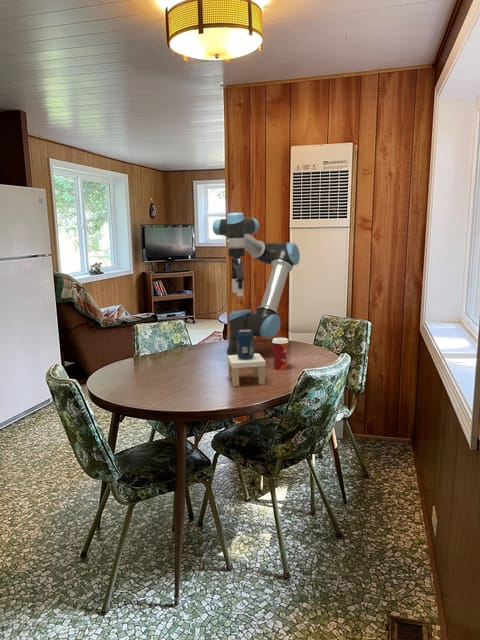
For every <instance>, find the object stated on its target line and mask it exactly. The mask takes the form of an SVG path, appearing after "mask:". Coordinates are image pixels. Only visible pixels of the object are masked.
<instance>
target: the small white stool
mask: <svg viewBox="0 0 480 640" xmlns="http://www.w3.org/2000/svg"><path fill="white" fill-rule="evenodd" d="M226 358H227V359H226V360H227V365H228V370H227V371H228V379H229V380H232V387H233V388H236V387H235V386H238V387H240V376H239V375H240V373H239V372H240V368H242V369H243V368H252V371H253V372H252V376H253V377H254V378H257V383H258V385H260V386H261V385H266V359H264V358H263V357H262V355H261V354H260V353H259V352H258V353H257V352H256V353H254V356H253V358H252V359H249V360H242V359H239V357H238V355H227V354H226Z"/></svg>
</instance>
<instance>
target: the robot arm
mask: <svg viewBox="0 0 480 640" xmlns="http://www.w3.org/2000/svg"><path fill="white" fill-rule="evenodd" d="M259 229H260V223H259V221H258V219H256V218H254V217H245V215H244V213H243V212H230V213H228V214H227V215H226V218H221V219H219V218H218V219H216V220H214V221H213V223H212V231H213V233H214V235H216V236H224V237H225V238H227V240H226V244H227V247H228V249H227V251H228V252H227V255H228V257H229V258H231V272H230V273H231V276H230V277H231V281H232V282H231V286H232V289H231V290H232V293H233V294H237V295H236V296H237V297H244V280H245V276H244V270H243V269H244V268H243V259H242V257H244V256H246V251H247V252H248V253H249V255H250V256H251V257H252V258H253V259H255V260H257V261H258V262H261V263H264V264H267V265H270V266H272V267H271V268H272V269H271V271H270V274H269V278H268V281H267V284H266V287H265V290H264V291H265V292H264V293H263V294H264V295H263V298H262V300H261V304H260V306H258V307H257V308H256V310H255V312H252V309H242V310H241V309H240V310H235V311H234V310H233V311H230V313H229V315H228V316H229V317H228V323H229V324H228V325H229V343H228V346H227V349H226V356H227V355H238V354H237V333H238V330H241V329H250V330H252V333H253V337H260V338H273V337H275V336H276V335H277V334H278V333H279V331H280V327H281V317H280V316H279V312H278V309H279V308H278V307H279V303H280V300H281V299H282V298H281V297H282V294H283V291H284V288H285V284H286V281H287V277H288V274H289V273H290V272H291V271H292V270H293V267H294V266H297V265H298V264H299V263H300V259H301V258H300V256H301V254H300V249H299V247H298V245H297V243H294V242H269V243H268V242H264V241H261V240H258V239H256V238H255V237H254V236H251V235H254V234H256V233H257V232H259ZM254 353H257V349H256V347H255V345H254Z"/></svg>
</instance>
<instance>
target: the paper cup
mask: <svg viewBox="0 0 480 640" xmlns="http://www.w3.org/2000/svg"><path fill="white" fill-rule="evenodd" d="M271 343H272V351H273V364H274V369H275V370H277V371H284V370H287V368H288V351H289V350H288V349H289V339H288V338H287V337H274V338H272V341H271Z"/></svg>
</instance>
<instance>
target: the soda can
mask: <svg viewBox="0 0 480 640" xmlns="http://www.w3.org/2000/svg"><path fill="white" fill-rule="evenodd" d="M254 342H255V341H254V336H253V333H252V330H250V329H241V330H238V333H237V354H238V357H239V359H242V360H249V359H252V358H253V356H254V346H255V344H254Z"/></svg>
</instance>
